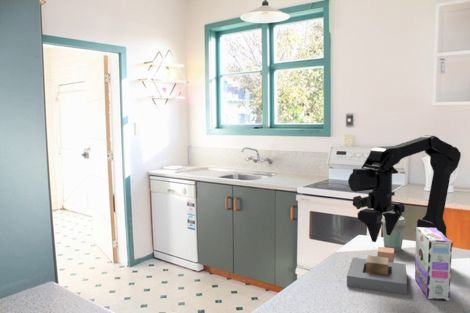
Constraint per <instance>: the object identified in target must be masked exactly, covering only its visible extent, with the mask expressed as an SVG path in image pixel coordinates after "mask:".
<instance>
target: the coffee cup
mask: <svg viewBox="0 0 470 313" xmlns="http://www.w3.org/2000/svg"><path fill="white" fill-rule="evenodd" d="M381 221H383V223H382V226H381V228H382V237H383V247H385V248H394V252H401V251H402V247H403V240H404V234H405V227H406V226H405V225H407V223H406V222H407V221H406V219H405V217H403V216H401V217H400V218H399V220H398V222H397V224H396V225H395V227H394V229H393V231H392V233H391V235H387V233H386V225H385V217H384V216H383V218H382V220H381Z"/></svg>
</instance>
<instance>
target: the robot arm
mask: <svg viewBox="0 0 470 313" xmlns="http://www.w3.org/2000/svg"><path fill="white" fill-rule="evenodd" d="M422 152H424V154H426V155H428V156H429V157H430V159H429V163H430V166H431V168H432V169H431V170H432V171H433V173H432V178H431V184H430V189H429V195H428V202H427V207H426V212H425V215H424V216H423V217H422V218H418V219H417V221H416V222H417V224H416V227H426V228H436V229H438V230H439V231H440V232H441V233H442V234H443V235H445V236H446V237H447V238H448V239H449V240H450V238H449V237H448V235H447V226H446V223H445V221H444V213H445V207H446V201H447V198H448V197H447V196H448V191H449V185H450V181H451V175H452V174H453V172H454V171H455V170H457V168H458V167H459V163H460V160H461V156H462V154H461V151H460V150H459V148H458V147H455V146H453V145H452V144H450V143H448V142H445V141H443V140H441V139H440V138H439V137H437V136H436V135H428V134H427V135H421V136H420V137H417V138H414V139H411V140H409V141H405V142H401V143H398V144H396V145H391V146H390V145H389V146H377V147H373V148H371V149H370V152H369V153H368V154H369V155H368V156H367V158H366V159H365V161H364V163H363V164H362V166H361V168H353V169H352V172H351V174H350V175H349V178H348V179H347V182H348V186H349V188H350V190H351V191H352V192H355V193H357V192H365V191H369V192H368V194H367V195H368V196H364V197H362V196H361V195H357V196H353V197H352V206H353V207H354V208H356V210H359V211H358V212H357V214H356V215H357V220H359V221H360V222H361V223H362V224H365V226H366V228H367V230H368V233H369V236H370V239H371V242H372V243H377V240H378V238H379V234H380V231H381V228H382V223H383V221H382V218H383V216H384V217H385V225H386V233H387V235H391V233H392V231H393V229H394V227H395V225H396V224H397V222H398V220H399V218H400V217H402V215H403V213H404V212H405V207H406V206H405V205H404V203H403V202H400V201H393V196H396V195H395V191H393V175H394V174H398V173H399V171H398V170H397V169H396V168H395V167H394V166H395V165H397V164H399V163H400V162H401V160H403V159H404V158H407V157H410V156H413V155H416V154H419V153H422ZM366 207H367V208H366ZM362 208H363V209H362ZM360 209H361V210H360ZM415 231H416V228H415ZM453 245H454V243H453V242H452V246H453Z"/></svg>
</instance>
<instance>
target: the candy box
mask: <svg viewBox="0 0 470 313" xmlns="http://www.w3.org/2000/svg"><path fill="white" fill-rule="evenodd" d="M415 229H416V230H415V259H414V260H415V261H414V262H415V264H414V265H415V268H414V270H415V271H414V272H415V273H414V280H415V282H416V284H417V285H418V287H419V288H420V290H421V291H422V293H423V294H424V295H425V296H424V297H426V299H427V300H435V301H436V300H438V301H448V302H449V301H450V297H451V296H450V292H451V272H452V271H451V270H452V251H453V250H452V249H453V245H452V243H453V241H452V240H449V239H450V238H449V237H448V236H447V235H446V236H447V237H448V238H449V239H448V238H447V237H446V236H445V235H443V234H442V233H441V232H440V231H439V230H438V229H436V228H426V227H417V226H416V227H415Z"/></svg>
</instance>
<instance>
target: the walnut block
mask: <svg viewBox="0 0 470 313" xmlns="http://www.w3.org/2000/svg"><path fill="white" fill-rule="evenodd" d="M366 259H367V262H366V273H369V274H376V275H384V276H388V260H389V258H385V257H378V255H367V258H366Z"/></svg>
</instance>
